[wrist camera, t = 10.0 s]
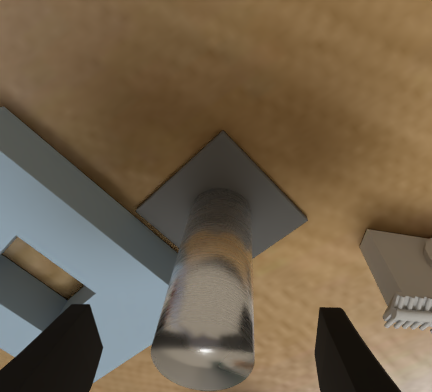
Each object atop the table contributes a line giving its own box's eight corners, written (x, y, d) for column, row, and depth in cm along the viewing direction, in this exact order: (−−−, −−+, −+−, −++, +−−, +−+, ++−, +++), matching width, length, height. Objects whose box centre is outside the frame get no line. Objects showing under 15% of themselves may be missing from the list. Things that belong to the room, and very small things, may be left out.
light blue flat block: (-91, 238, 20) (-133, 267, 18) (3, 106, 16) (-37, 122, 13) (91, 358, 24) (75, 394, 21) (206, 277, 19) (201, 311, 17)
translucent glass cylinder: (194, 240, 18) (159, 389, 11) (186, 189, 17) (142, 321, 10) (252, 239, 18) (256, 392, 11) (249, 186, 16) (252, 321, 9)
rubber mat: (137, 208, 18) (135, 211, 17) (223, 130, 15) (222, 132, 15) (219, 278, 19) (218, 281, 19) (306, 217, 17) (307, 220, 17)
